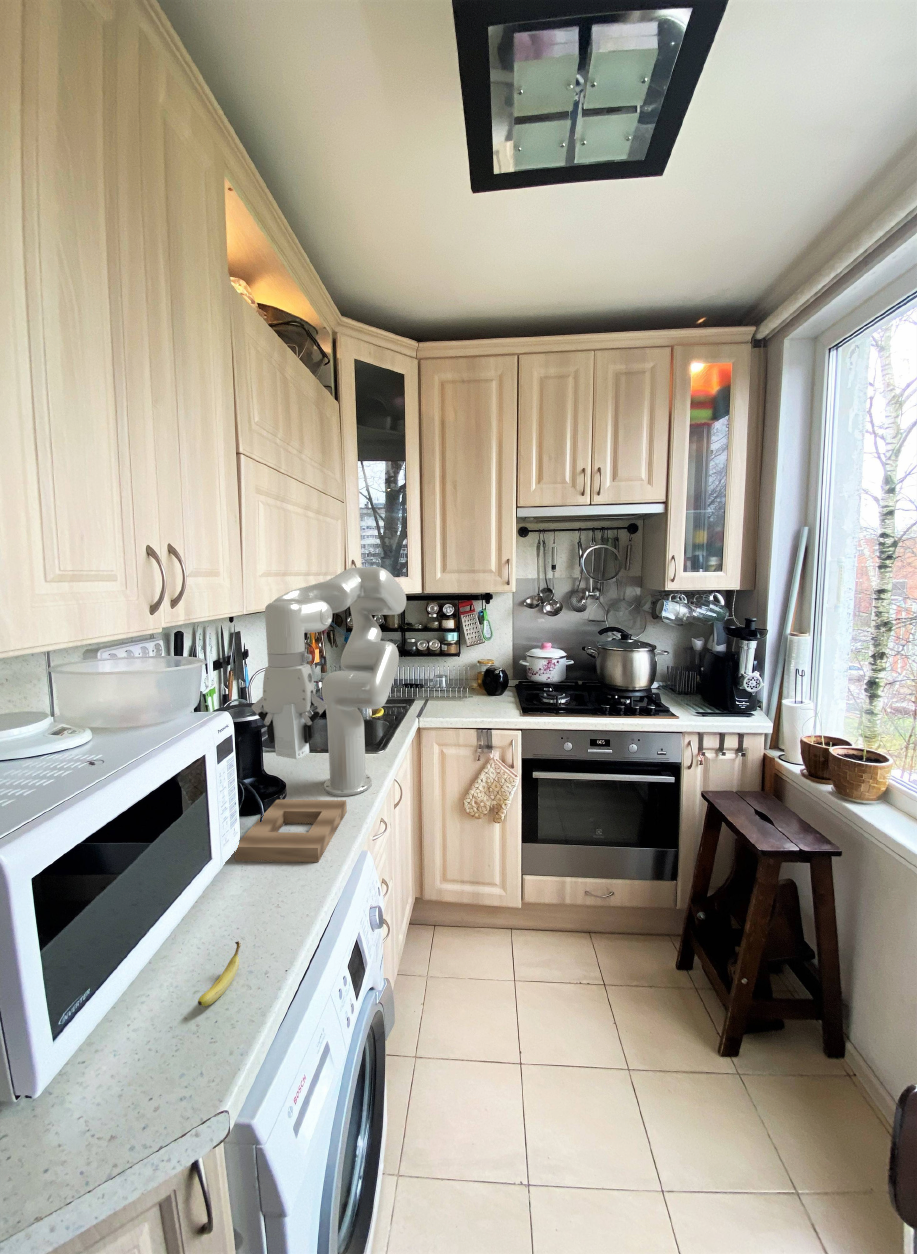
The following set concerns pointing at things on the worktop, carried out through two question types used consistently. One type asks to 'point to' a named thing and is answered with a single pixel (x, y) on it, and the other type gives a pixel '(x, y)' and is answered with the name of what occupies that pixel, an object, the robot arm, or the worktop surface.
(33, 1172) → the worktop surface
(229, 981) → the banana
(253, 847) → the socket block
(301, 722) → the skincare box
